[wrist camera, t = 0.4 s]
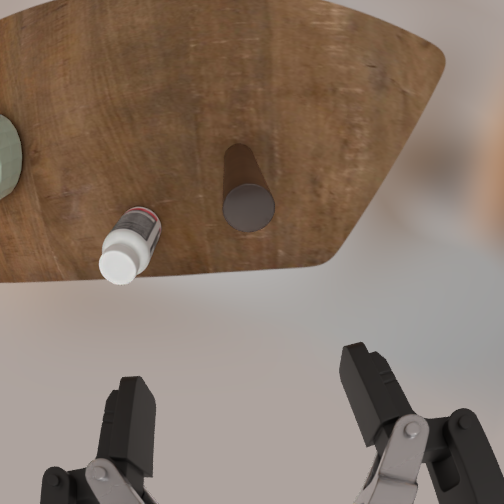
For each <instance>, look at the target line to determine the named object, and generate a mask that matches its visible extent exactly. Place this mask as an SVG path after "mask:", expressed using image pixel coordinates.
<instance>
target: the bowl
mask: <svg viewBox="0 0 504 504" xmlns="http://www.w3.org/2000/svg"><path fill="white" fill-rule="evenodd" d="M21 166H22V150H21V142H20V139H19V136H18V133H17V131H16V129H15V127H14V126H13V124H12V123H11V121H10V120H9V119H7V118H6V117H4V116H3V115H1V114H0V200H1V199H3V198H4V197H6V196H7V195H8V194H10V193H11V192H12V191H13V189H14V187H15V186H16V184H17V182H18V179H19V176H20V172H21Z"/></svg>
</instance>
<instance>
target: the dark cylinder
mask: <svg viewBox="0 0 504 504" xmlns="http://www.w3.org/2000/svg"><path fill="white" fill-rule="evenodd" d="M274 212H275V202H274V199H273V197H272V194H271V192H270V190H269V188H268V186H267V183H266V181H265V179H264V177H263V175H262V172H261V170H260V168H259V166H258V164H257V161H256V159H255V157H254V155H253V153H252V151H251V150H250V148H249V147H247V146H245V145H242V144H236V145H233V146H231V147H230V148H229V149H228V150H227V151H226V153H225V158H224V182H223V215H224V217H225V219H226V221H227V222H228V224H229V225H230V226H232V227H233V228H234V229H236V230H239V231H242V232H254V231H258V230H260V229H262V228H264V227H265V226H266V225H267V224H268V223H269V222H270V221H271V219H272V218H273V215H274Z"/></svg>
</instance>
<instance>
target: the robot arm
mask: <svg viewBox="0 0 504 504" xmlns="http://www.w3.org/2000/svg"><path fill="white" fill-rule="evenodd" d="M339 373H340V379H341V382H342V385H343V387H344V389H345V392H346V395H347V397H348V400H349V402H350V405H351V408H352V410H353V413H354V415H355V418H356V421H357V423H358V426H359V428H360V431H361V434H362V436H363V439H364V442H365V444H366V447H369V446H371V445H375V447H376V450H377V452H376V455H375V457H374V460H373V462H372V465H371V467H370V470H369V472H368V475H367V477H366V480H365V482H364V484H363V486H362V489H361V491H360V492H359V495H358V496H357V497H356V499H355V501H354V503H353V504H413V502H414V500H415V497H416V493H417V489H418V484H417V482H416V479H417V475H418V472H419V469H420V465H421V463H426V465H427V468H428V471H429V474H430V477H431V480H432V483H433V486H434V489H435V492H436V495H437V498H438V501H439V504H504V477H503V475H502V472H501V470H500V468H499V465H498V462H497V460H496V458H495V455H494V453H493V450H492V448H491V446H490V444H489V442H488V439H487V437H486V435H485V433H484V431H483V428H482V426H481V424H480V422H479V420H478V418H477V416H476V415H475V413H474V412H472V411H471V410H469V409H465V408H462V409H458V410H456V411H454V412H453V413H452V414H451V416H450V417H443V418H434V419H427V418H423V417H421V416H419V415H417V414H416V413H415V412H414V411H413V410H412V408H411V406H410V404H409V402H408V401H407V398H406V396H405V394H404V392H403V391H402V389H401V387H400V385H399V383H398V382H397V380H396V377H395V375H394V374H393V372H392V371H391V368H390V366H389V364H388V363H387V361H386V359H385V358H384V357H382V356H381V355H380V354H379V353H378V352H376V351H375V352H372V353H369V352H368V350H367V348H366V346H365V345H364V343H363V342H359V343H355V344H351V345H348V346H344V347H343V350H342V356H341V362H340V368H339ZM104 411H105V414H104V416H103V423H102V427H101V433H100V439H99V446H98V452H97V456H96V459H95V460H93V461H91V462H90V463H89V464H88V466H87V467H86V468H83V469H77V470H72V471H67V472H66V471H65V470H63V469H62V468H60V467H50V468H49V469H47V470H46V471H45V473H44V475H43V479H42V489H41V501H40V504H159V503H158V502H157V501H156V500H155V499H154V497H153V496H152V495H151V494H150V492H149V491H148V490H147V488H146V487H145V486H144V485H143V482H144V477H153V476H152V475H153V448H154V431H155V430H154V429H155V416H156V404H155V399H154V396H153V395H152V393H151V391H150V390H149V389H148V387H147V385H146V384H145V382H144V380H143V379H142V377H140V376H133V377H122V379H121V381H120V386H119V390H113V391H112V392H111V394H110V396H109V397H108V399H107V400H106V405H105V410H104Z"/></svg>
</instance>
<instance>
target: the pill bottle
mask: <svg viewBox="0 0 504 504" xmlns="http://www.w3.org/2000/svg"><path fill="white" fill-rule="evenodd" d="M160 234H161V223H160V220H159V218H158V217H157V215H156V214H155V213H154V212H152V211H151V210H149V209H147V208H144V207H134V208H131V209H129V210H127V211H126V212H125V213H124V214H123V216H122V217H121V218H120V220H119V221H118V222H117V224H116V225H115V226H114V227H113V229H112V230H111V231H110V233H109V234H108V235H107V237H106V239H105V240H104V243H103V246H102V256H101V257H100V260H99V268H100V271H101V273H102V275H103V276H104V277H105V278H106V279H107V280H108V281H110V282H112V283H114V284H117V285H125V284H128V283H130V282H132V281H133V280H134V278H135V276H136V275H137V274H139V273H141V272H142V271H144V270H145V268H146V267H147V266H148V264H149V261H150V259H151V256H152V254H153V252H154V249H155V247H156V244H157V242H158V240H159V237H160Z"/></svg>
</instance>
